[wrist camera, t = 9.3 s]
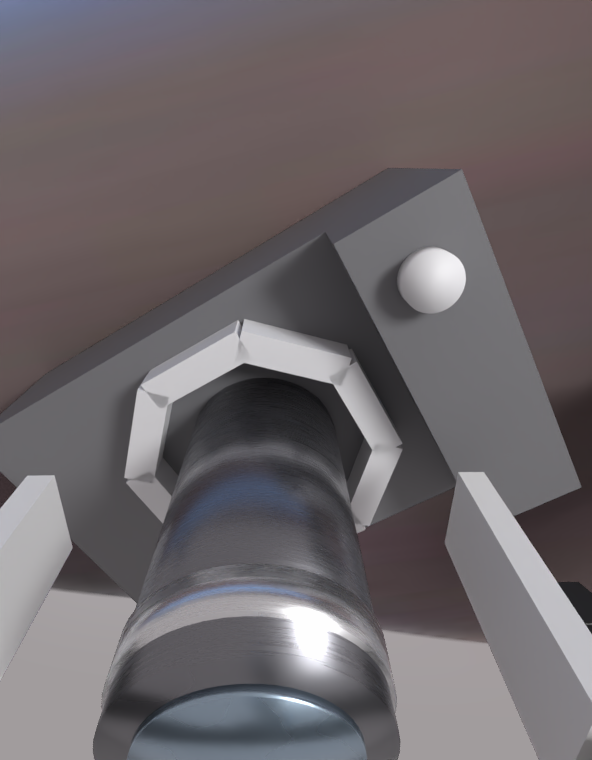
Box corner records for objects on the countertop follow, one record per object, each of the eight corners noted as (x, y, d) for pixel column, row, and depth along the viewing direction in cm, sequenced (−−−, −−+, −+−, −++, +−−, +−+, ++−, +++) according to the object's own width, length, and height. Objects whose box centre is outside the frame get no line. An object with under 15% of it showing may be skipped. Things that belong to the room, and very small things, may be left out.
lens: (184, 375, 16) (49, 671, 7) (341, 374, 16) (428, 661, 7) (197, 502, 18) (110, 855, 9) (335, 499, 18) (393, 843, 9)
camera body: (388, 167, 19) (471, 169, 11) (481, 380, 23) (592, 499, 15) (45, 373, 22) (-92, 495, 14) (181, 527, 26) (137, 690, 18)
